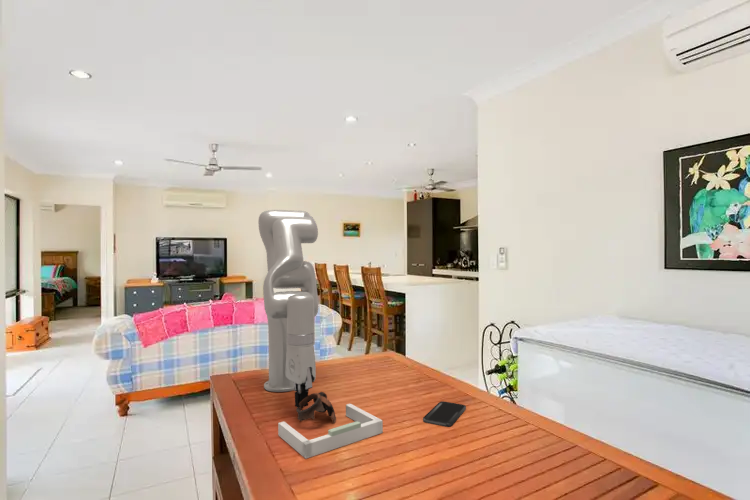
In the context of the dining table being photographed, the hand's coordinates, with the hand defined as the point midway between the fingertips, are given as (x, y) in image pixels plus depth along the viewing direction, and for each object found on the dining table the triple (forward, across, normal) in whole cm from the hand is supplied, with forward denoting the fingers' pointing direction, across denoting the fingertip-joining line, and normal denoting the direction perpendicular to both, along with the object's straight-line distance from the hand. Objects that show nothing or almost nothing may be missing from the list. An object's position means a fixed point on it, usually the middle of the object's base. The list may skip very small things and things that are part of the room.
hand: (301, 405), depth 113 cm
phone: (+3, +24, +31) cm, 40 cm away
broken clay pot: (+3, +6, +2) cm, 7 cm away
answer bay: (+2, +16, 0) cm, 16 cm away
